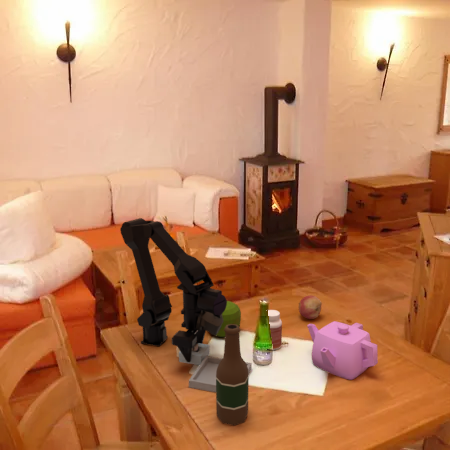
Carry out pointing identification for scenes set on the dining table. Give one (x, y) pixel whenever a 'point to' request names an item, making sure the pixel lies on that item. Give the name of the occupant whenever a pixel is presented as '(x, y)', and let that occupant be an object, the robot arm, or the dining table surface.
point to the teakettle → (342, 349)
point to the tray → (208, 374)
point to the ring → (196, 354)
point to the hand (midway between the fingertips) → (194, 354)
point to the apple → (230, 317)
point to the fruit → (310, 307)
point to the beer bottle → (232, 381)
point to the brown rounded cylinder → (195, 348)
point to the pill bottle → (275, 328)
